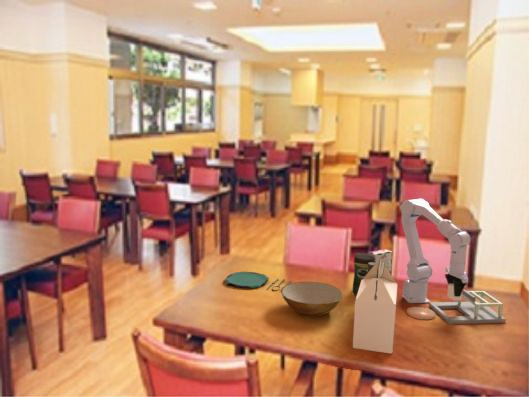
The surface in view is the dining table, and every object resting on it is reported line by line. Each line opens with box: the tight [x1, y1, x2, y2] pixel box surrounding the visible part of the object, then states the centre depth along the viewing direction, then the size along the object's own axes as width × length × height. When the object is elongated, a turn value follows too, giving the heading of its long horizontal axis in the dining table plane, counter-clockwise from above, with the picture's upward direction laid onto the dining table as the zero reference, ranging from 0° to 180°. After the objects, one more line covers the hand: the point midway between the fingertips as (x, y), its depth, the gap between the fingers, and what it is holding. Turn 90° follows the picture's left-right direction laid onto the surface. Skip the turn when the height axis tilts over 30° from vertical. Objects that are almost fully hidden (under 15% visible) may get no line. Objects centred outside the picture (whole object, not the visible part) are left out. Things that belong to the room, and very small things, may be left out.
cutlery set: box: [224, 270, 292, 292], centre depth 228 cm, size 20×30×2 cm, turn 70°
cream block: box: [447, 283, 463, 301], centre depth 196 cm, size 4×4×6 cm
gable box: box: [352, 257, 398, 354], centre depth 173 cm, size 22×13×28 cm, turn 164°
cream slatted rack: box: [457, 289, 504, 317], centre depth 198 cm, size 11×14×7 cm
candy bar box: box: [367, 248, 393, 275], centre depth 228 cm, size 11×5×16 cm, turn 119°
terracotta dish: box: [406, 306, 437, 321], centre depth 197 cm, size 11×11×1 cm
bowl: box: [280, 281, 344, 317], centre depth 197 cm, size 25×25×8 cm
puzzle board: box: [428, 300, 507, 325], centre depth 198 cm, size 23×18×2 cm
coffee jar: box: [351, 252, 376, 296], centre depth 216 cm, size 10×8×19 cm
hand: (454, 294), depth 196 cm, fingers closed on cream block, 4 cm apart
